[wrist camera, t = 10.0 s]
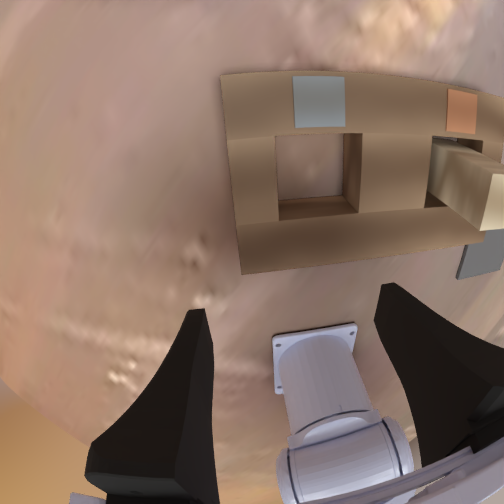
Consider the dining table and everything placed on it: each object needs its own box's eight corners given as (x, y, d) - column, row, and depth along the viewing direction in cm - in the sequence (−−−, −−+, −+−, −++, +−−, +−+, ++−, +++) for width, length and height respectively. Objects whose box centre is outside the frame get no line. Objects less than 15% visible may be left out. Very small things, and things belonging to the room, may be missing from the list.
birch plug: (445, 180, 21) (512, 227, 14) (412, 180, 21) (479, 230, 14) (450, 139, 19) (524, 176, 12) (416, 136, 19) (492, 173, 12)
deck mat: (497, 267, 27) (499, 269, 26) (455, 277, 27) (457, 280, 26) (514, 211, 23) (517, 213, 23) (473, 214, 23) (475, 216, 22)
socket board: (463, 225, 23) (483, 242, 21) (238, 250, 23) (241, 275, 20) (481, 92, 17) (507, 99, 14) (220, 76, 16) (219, 75, 14)
